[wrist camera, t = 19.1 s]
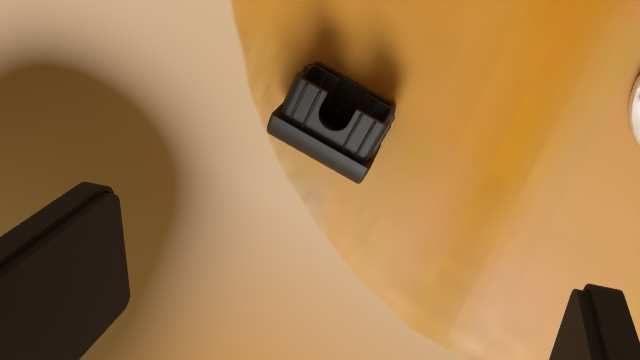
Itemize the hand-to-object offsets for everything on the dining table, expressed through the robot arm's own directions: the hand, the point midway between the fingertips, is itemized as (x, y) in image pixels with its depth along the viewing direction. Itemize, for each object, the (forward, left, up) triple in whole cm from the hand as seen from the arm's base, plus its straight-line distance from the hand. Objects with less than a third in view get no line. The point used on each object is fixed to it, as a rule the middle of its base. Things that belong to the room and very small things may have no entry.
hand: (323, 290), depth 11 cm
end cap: (+9, +12, -43) cm, 45 cm away
